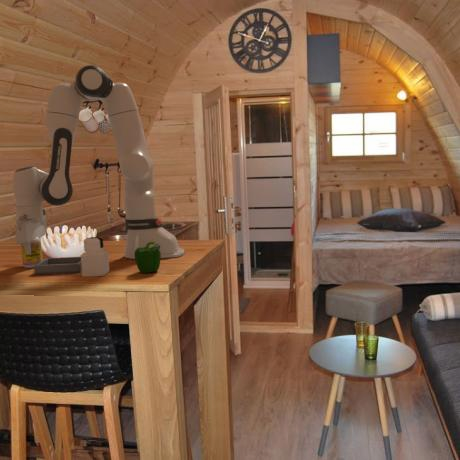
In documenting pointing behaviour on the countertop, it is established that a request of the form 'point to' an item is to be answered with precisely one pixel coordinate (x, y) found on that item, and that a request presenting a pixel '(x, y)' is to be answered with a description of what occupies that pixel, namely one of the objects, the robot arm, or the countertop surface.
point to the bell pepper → (148, 258)
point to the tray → (58, 266)
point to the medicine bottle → (94, 258)
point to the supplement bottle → (36, 253)
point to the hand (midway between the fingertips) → (33, 252)
